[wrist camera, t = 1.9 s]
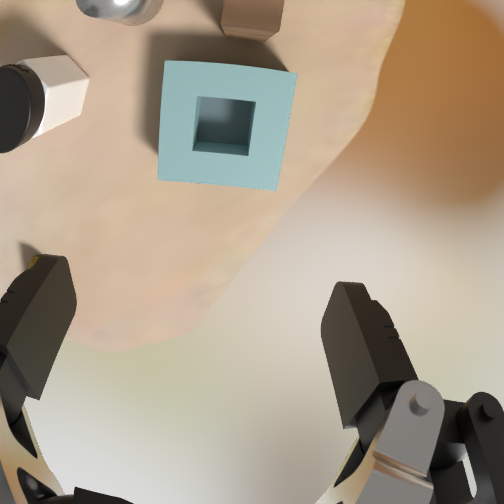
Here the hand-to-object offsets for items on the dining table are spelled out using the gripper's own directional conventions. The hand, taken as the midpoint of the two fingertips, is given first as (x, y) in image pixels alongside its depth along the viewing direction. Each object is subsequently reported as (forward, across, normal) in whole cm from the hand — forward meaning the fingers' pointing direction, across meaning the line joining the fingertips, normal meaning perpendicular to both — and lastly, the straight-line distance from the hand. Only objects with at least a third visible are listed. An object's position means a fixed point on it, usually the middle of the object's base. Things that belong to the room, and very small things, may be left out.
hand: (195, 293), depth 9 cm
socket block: (+28, 0, 0) cm, 28 cm away
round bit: (+28, +11, -13) cm, 33 cm away
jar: (+28, +20, -3) cm, 35 cm away
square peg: (+28, -1, -11) cm, 30 cm away
